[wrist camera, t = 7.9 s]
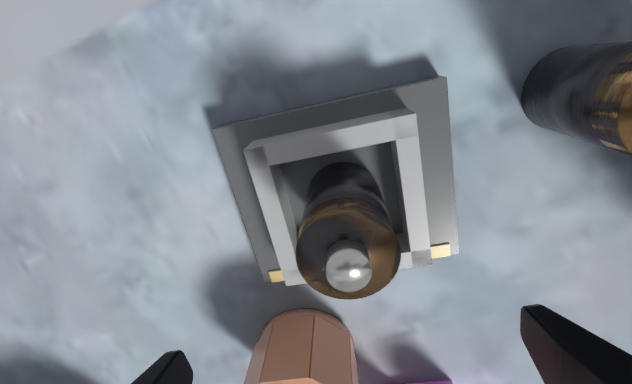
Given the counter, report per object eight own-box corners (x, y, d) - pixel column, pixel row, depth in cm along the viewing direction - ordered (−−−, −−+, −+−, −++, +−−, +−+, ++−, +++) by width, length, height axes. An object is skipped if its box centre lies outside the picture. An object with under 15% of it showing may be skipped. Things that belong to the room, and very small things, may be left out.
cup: (344, 302, 22) (346, 373, 17) (360, 373, 24) (367, 453, 19) (248, 315, 23) (224, 386, 18) (274, 382, 25) (259, 460, 20)
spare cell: (611, 36, 15) (821, 17, 8) (602, 120, 16) (776, 157, 10) (522, 56, 15) (656, 52, 9) (520, 135, 17) (635, 180, 10)
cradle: (439, 76, 16) (462, 78, 13) (451, 242, 20) (472, 274, 17) (219, 125, 18) (196, 138, 15) (268, 271, 21) (257, 304, 18)
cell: (373, 155, 17) (399, 213, 10) (384, 221, 18) (412, 310, 11) (299, 169, 17) (279, 233, 11) (316, 232, 18) (306, 324, 12)
